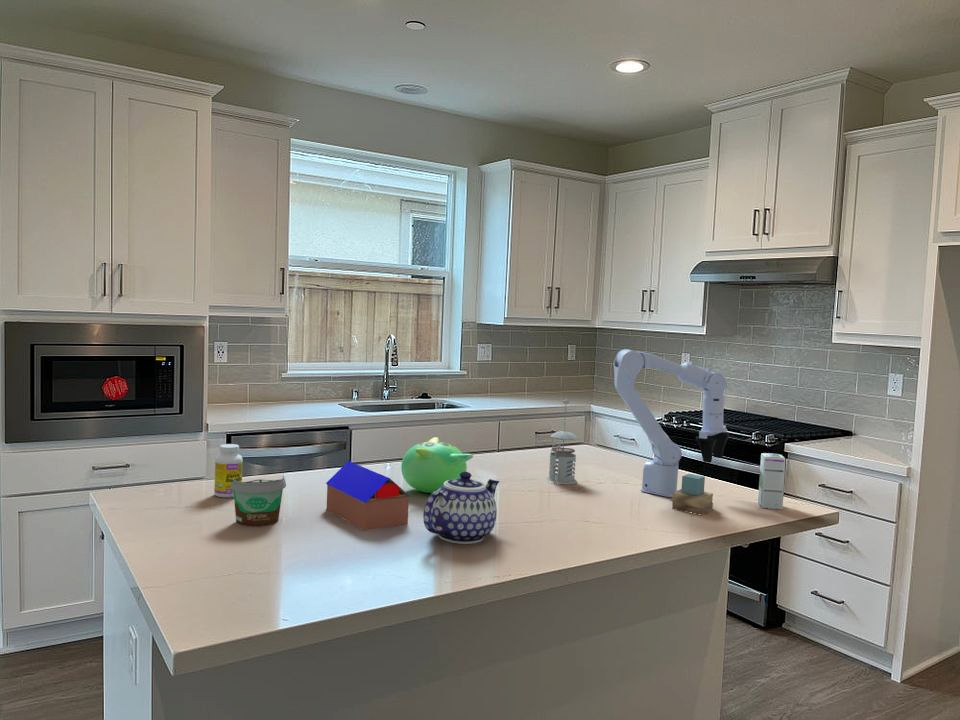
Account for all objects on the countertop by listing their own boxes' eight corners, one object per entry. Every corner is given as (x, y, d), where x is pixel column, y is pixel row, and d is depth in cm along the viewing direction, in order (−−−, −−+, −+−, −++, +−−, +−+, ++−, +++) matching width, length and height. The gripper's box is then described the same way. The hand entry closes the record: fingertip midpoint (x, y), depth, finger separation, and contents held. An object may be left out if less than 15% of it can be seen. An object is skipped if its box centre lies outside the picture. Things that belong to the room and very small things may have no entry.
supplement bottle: (224, 499, 182) (225, 449, 181) (208, 494, 186) (210, 445, 185) (247, 495, 187) (248, 446, 186) (231, 490, 191) (233, 442, 190)
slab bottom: (671, 511, 194) (672, 502, 194) (683, 505, 201) (684, 496, 201) (700, 517, 190) (701, 508, 189) (712, 511, 196) (712, 502, 196)
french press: (583, 481, 222) (587, 399, 220) (566, 487, 212) (571, 403, 210) (554, 475, 227) (558, 396, 225) (536, 482, 217) (541, 399, 216)
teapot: (447, 559, 147) (450, 487, 146) (397, 541, 157) (400, 473, 156) (522, 533, 166) (526, 469, 165) (474, 518, 176) (476, 458, 175)
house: (367, 504, 185) (369, 458, 184) (409, 524, 170) (411, 475, 169) (324, 510, 178) (326, 463, 177) (364, 532, 162) (366, 480, 161)
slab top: (672, 501, 194) (672, 492, 194) (683, 496, 201) (684, 487, 201) (701, 508, 190) (701, 498, 189) (712, 502, 196) (712, 493, 196)
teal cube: (681, 492, 195) (682, 476, 194) (687, 489, 198) (688, 473, 198) (697, 495, 192) (698, 479, 192) (703, 492, 195) (704, 476, 195)
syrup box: (783, 510, 199) (787, 457, 198) (760, 508, 200) (764, 456, 199) (778, 504, 204) (782, 454, 203) (756, 502, 205) (760, 452, 204)
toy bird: (456, 483, 210) (458, 433, 209) (474, 499, 194) (476, 444, 193) (395, 485, 205) (397, 434, 204) (408, 501, 189) (410, 445, 188)
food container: (233, 530, 158) (234, 485, 157) (229, 522, 164) (230, 478, 163) (290, 525, 164) (291, 481, 163) (284, 517, 169) (285, 475, 169)
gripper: (716, 417, 202) (716, 465, 203) (736, 411, 213) (735, 457, 214) (692, 415, 206) (692, 462, 207) (712, 409, 217) (712, 454, 218)
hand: (712, 459), depth 211 cm, fingers open, 7 cm apart
